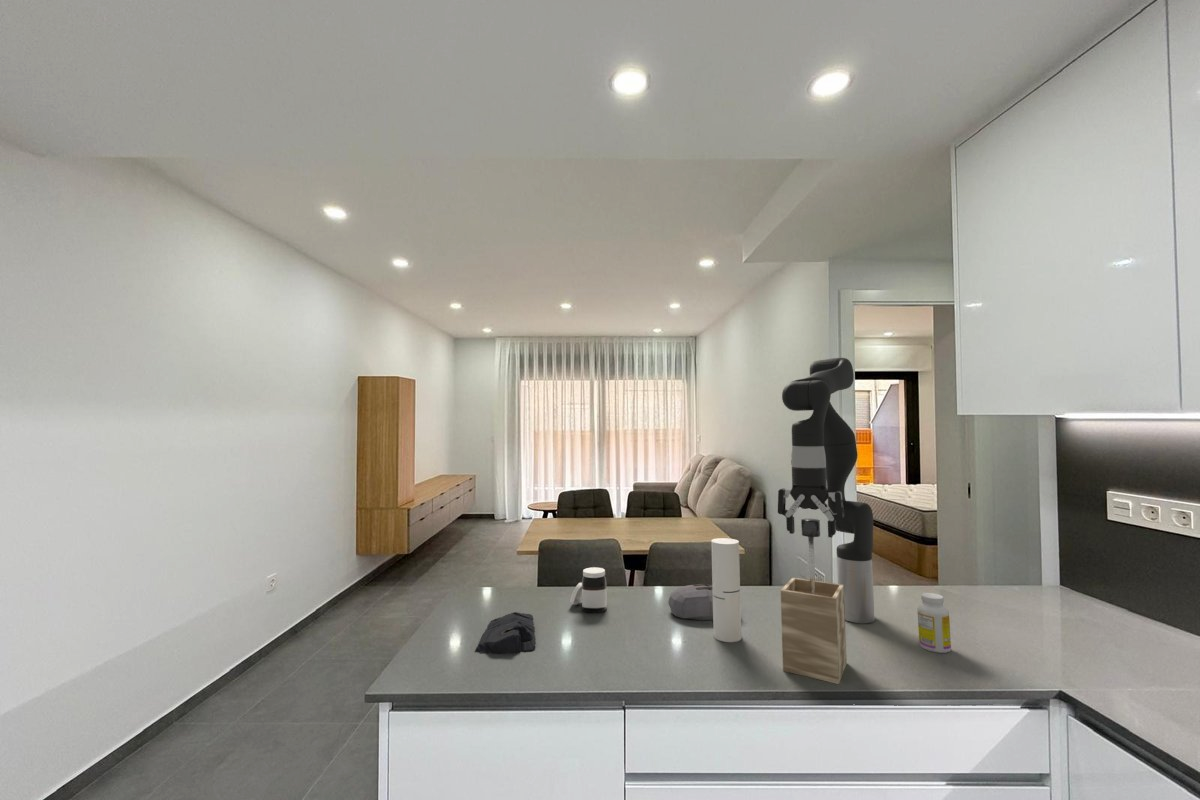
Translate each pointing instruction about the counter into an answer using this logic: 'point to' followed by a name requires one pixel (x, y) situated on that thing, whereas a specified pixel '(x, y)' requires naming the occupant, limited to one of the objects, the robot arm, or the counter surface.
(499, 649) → the dark slate chunk
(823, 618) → the wooden utensil holder
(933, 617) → the supplement bottle
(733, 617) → the cylindrical container
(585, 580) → the spread jar
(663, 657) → the counter surface
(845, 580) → the robot arm
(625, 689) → the counter surface
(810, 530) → the plunger
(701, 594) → the grey rounded bag
